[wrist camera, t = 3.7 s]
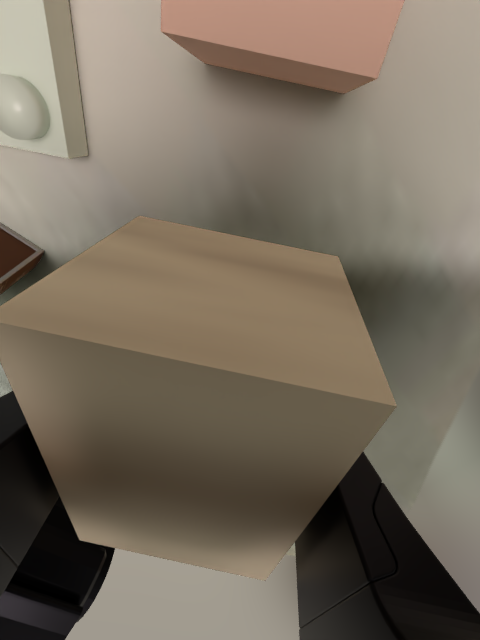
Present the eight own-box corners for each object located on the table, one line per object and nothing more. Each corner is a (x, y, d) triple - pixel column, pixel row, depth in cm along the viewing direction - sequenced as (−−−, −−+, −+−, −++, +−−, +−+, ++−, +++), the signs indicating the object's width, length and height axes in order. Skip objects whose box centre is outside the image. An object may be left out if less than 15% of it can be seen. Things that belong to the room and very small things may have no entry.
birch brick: (271, 429, 12) (265, 580, 8) (146, 402, 12) (79, 540, 8) (337, 256, 8) (397, 405, 4) (139, 215, 8) (-20, 319, 4)
